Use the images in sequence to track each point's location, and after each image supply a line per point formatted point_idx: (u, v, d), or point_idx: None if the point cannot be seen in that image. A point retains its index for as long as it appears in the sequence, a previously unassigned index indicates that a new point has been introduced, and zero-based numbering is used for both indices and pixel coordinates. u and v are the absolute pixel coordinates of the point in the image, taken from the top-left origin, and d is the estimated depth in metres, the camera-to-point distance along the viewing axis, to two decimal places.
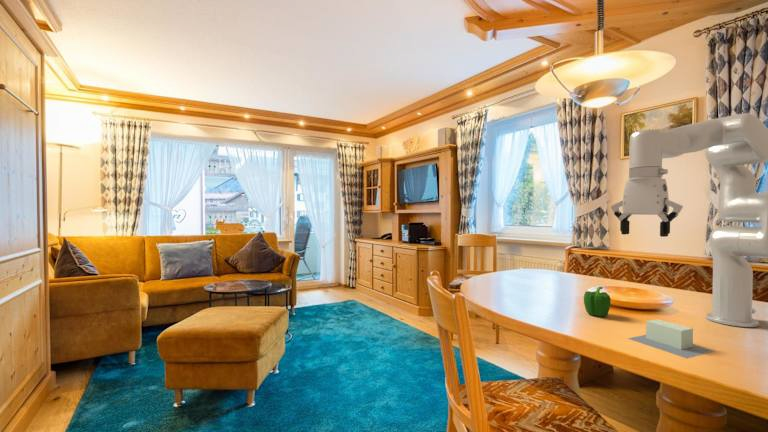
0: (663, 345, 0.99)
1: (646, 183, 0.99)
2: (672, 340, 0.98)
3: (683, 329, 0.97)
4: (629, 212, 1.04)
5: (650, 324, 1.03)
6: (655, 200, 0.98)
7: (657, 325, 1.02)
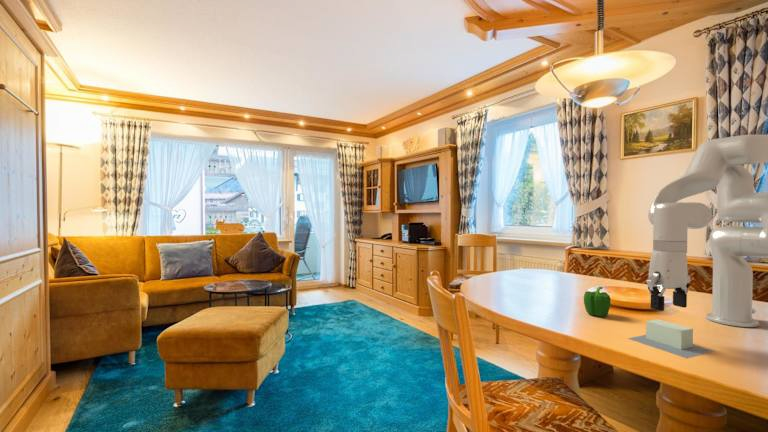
0: (663, 345, 0.99)
1: (682, 257, 0.99)
2: (672, 340, 0.98)
3: (683, 329, 0.97)
4: (670, 287, 0.98)
5: (650, 324, 1.03)
6: (686, 273, 1.00)
7: (657, 325, 1.02)
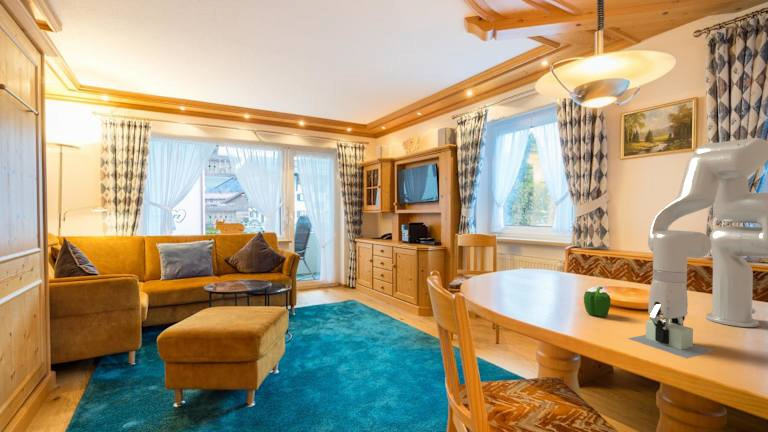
0: (663, 345, 0.99)
1: (682, 287, 0.99)
2: (672, 340, 0.98)
3: (683, 329, 0.97)
4: (670, 317, 0.98)
5: (650, 324, 1.03)
6: (686, 303, 1.00)
7: None
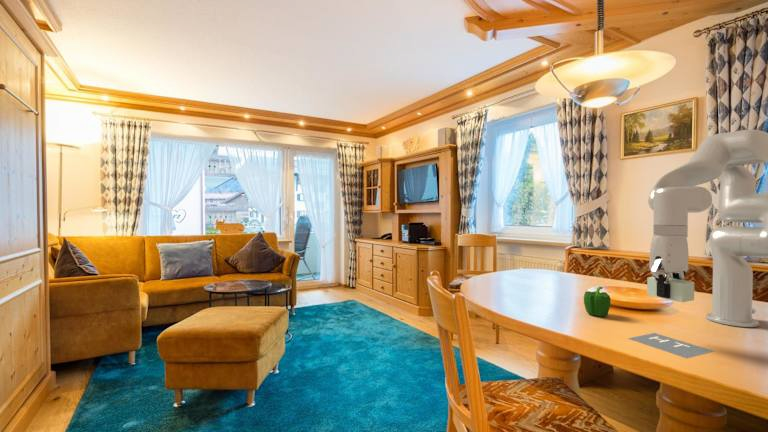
0: (663, 345, 0.99)
1: (683, 241, 0.99)
2: (674, 294, 0.98)
3: (684, 282, 0.97)
4: (671, 271, 0.98)
5: (651, 280, 1.03)
6: (687, 257, 1.00)
7: None
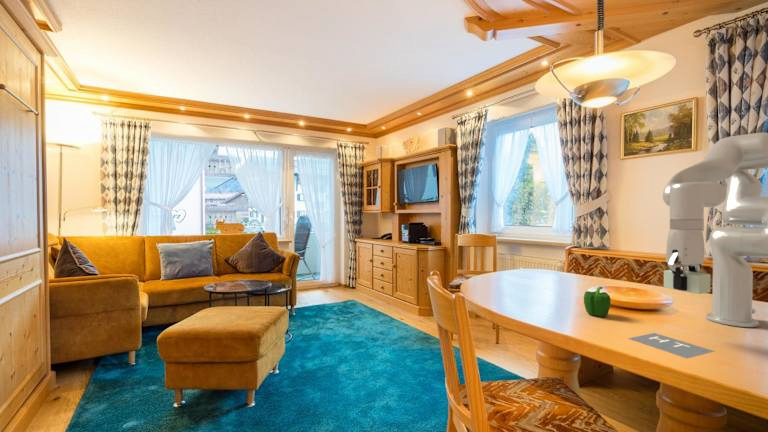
0: (663, 345, 0.99)
1: (699, 235, 1.02)
2: (690, 286, 1.01)
3: (701, 275, 1.00)
4: (687, 264, 1.01)
5: (668, 273, 1.06)
6: (703, 251, 1.03)
7: None
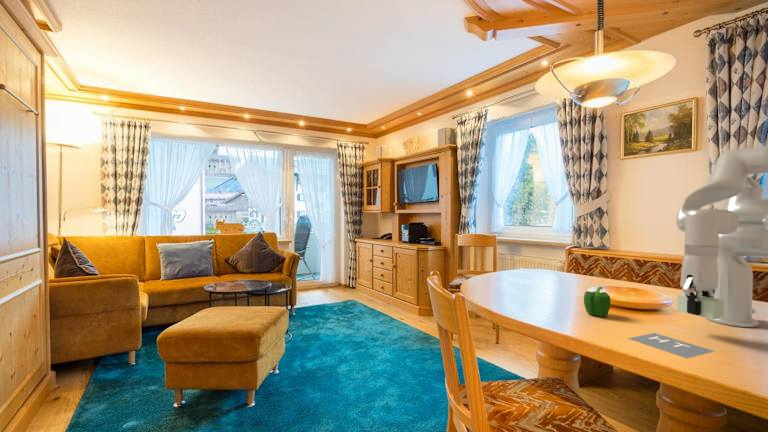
0: (663, 345, 0.99)
1: (713, 261, 1.04)
2: (704, 311, 1.03)
3: (715, 300, 1.02)
4: (702, 289, 1.03)
5: (681, 297, 1.08)
6: (716, 277, 1.05)
7: None
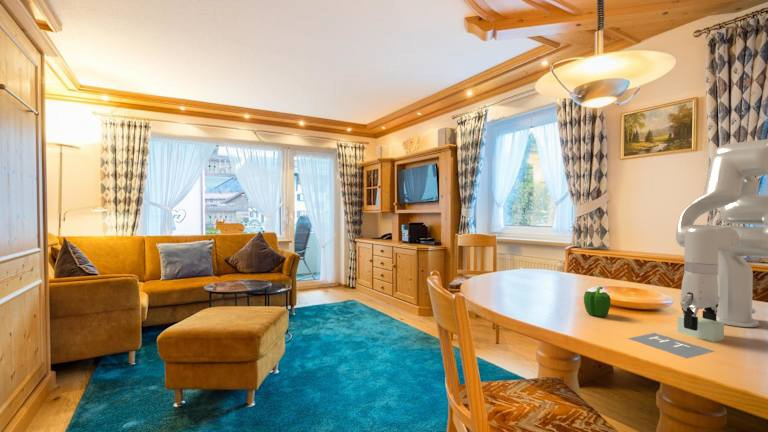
0: (663, 345, 0.99)
1: (713, 278, 1.05)
2: (704, 334, 1.03)
3: (715, 323, 1.03)
4: (702, 307, 1.04)
5: (682, 319, 1.09)
6: (716, 294, 1.06)
7: None
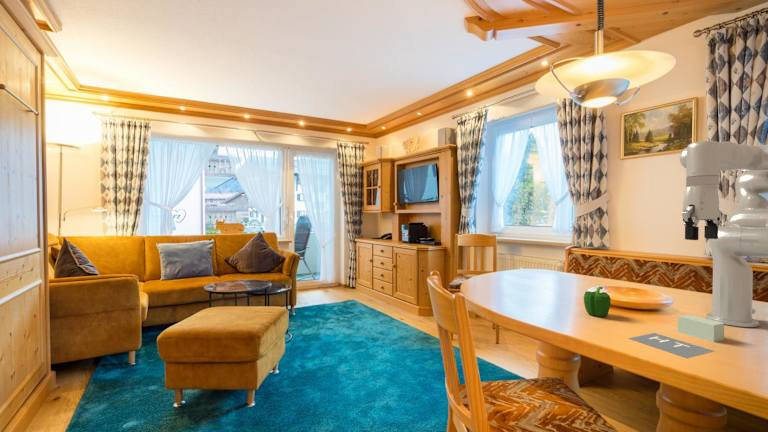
0: (663, 345, 0.99)
1: (714, 191, 1.07)
2: (705, 334, 1.03)
3: (715, 324, 1.02)
4: (703, 218, 1.06)
5: (682, 319, 1.09)
6: (717, 207, 1.08)
7: (689, 320, 1.07)
